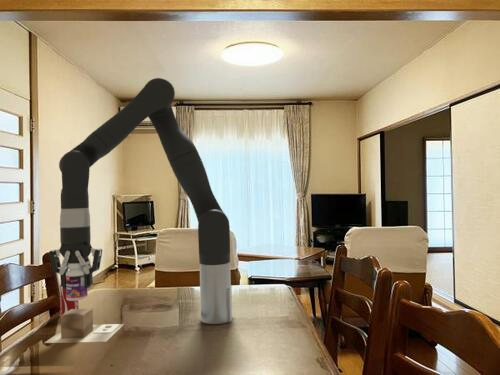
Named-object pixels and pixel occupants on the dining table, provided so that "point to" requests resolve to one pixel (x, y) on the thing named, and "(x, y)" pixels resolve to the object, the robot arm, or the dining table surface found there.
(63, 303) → the soda can
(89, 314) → the walnut cube
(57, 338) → the board
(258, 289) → the dining table surface
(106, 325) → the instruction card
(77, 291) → the pill bottle
